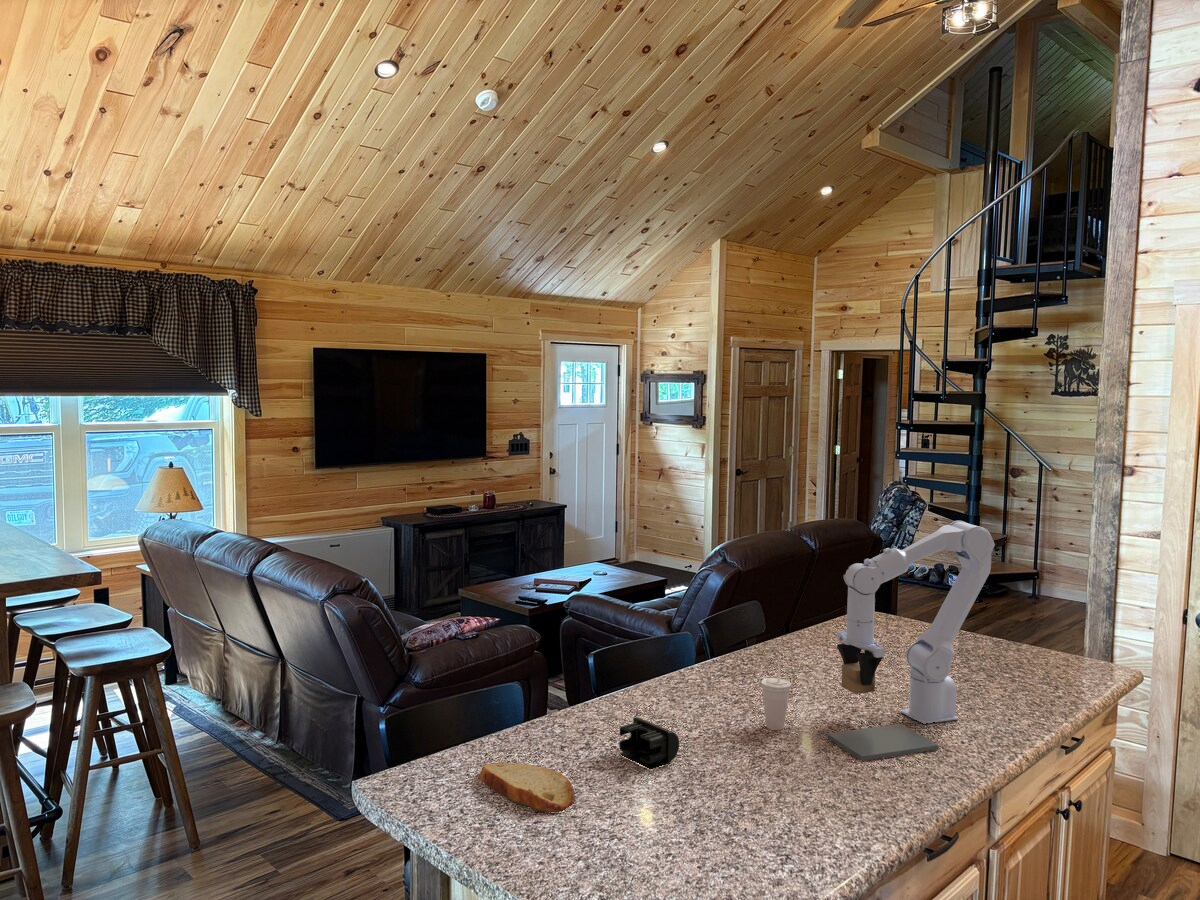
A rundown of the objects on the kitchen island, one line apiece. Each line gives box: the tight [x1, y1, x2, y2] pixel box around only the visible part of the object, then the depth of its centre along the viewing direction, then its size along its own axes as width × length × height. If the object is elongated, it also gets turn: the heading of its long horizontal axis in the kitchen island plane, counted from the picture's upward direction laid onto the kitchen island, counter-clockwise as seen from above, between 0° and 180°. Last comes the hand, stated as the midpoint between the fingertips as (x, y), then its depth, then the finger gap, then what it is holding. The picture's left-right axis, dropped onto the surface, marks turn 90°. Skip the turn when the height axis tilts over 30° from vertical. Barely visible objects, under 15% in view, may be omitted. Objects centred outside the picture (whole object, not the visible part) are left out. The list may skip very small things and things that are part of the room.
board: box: [826, 723, 939, 762], centre depth 183 cm, size 18×12×1 cm, turn 109°
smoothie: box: [760, 661, 792, 731], centre depth 191 cm, size 6×6×14 cm
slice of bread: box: [478, 762, 576, 814], centre depth 160 cm, size 18×18×4 cm
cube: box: [841, 662, 876, 695], centre depth 197 cm, size 5×5×5 cm
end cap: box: [618, 716, 680, 769], centre depth 175 cm, size 10×7×7 cm
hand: (858, 680), depth 197 cm, fingers closed on cube, 5 cm apart
